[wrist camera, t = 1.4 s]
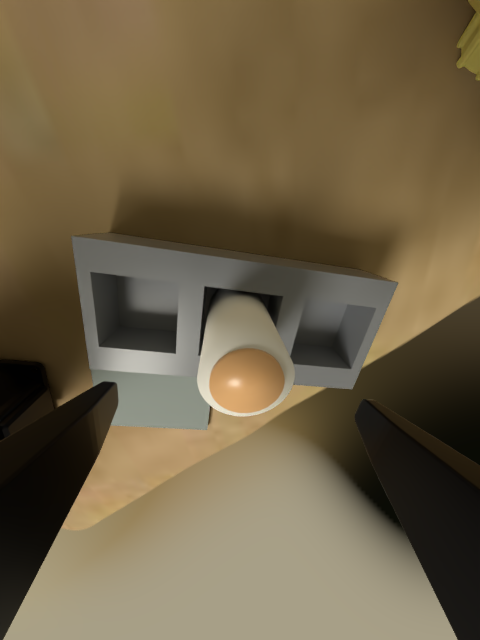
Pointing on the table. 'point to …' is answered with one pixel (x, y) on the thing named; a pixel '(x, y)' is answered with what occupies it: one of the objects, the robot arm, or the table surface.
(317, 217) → the table surface
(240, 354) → the plug
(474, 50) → the plastic component
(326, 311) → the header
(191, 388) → the mat
